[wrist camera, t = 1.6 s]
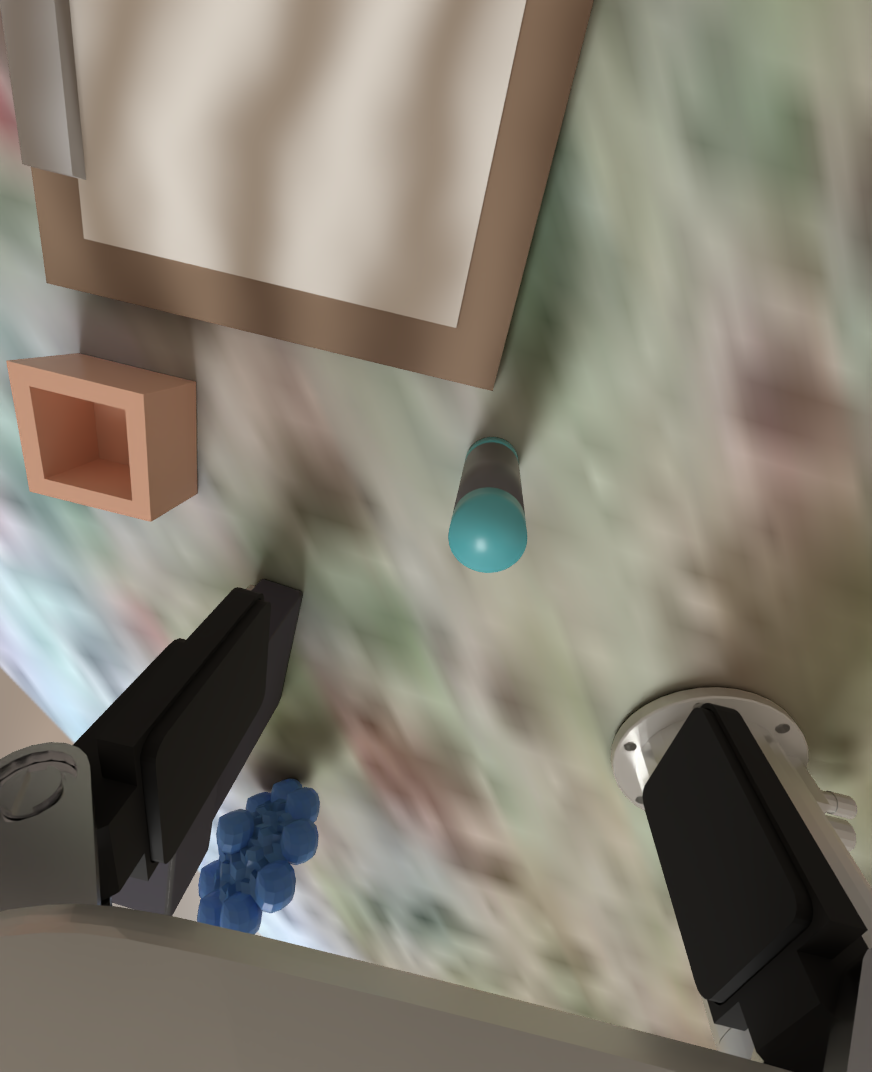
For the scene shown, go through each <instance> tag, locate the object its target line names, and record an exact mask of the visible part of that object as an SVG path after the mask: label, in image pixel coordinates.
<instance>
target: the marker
mask: <svg viewBox="0 0 872 1072" xmlns="http://www.w3.org/2000/svg"><path fill="white" fill-rule="evenodd" d="M448 539H449V545H450V548H451V551H452V553H453V554H454V556H455V557H456V558H457V560H458V561H459V562H460V563H462V564H463V565H464V566H466V567H468V568H470V569H472V570H475V571H478V572H485V573H492V572H498V571H502V570H504V569H507V568H509V567H510V566H512V565H513V564H515V563H516V562H517V561H518V560H519V559H520V557H521V556H522V554H523V553H524V550H525V548H526V544H527V530H526V521H525V513H524V504H523V496H522V487H521V479H520V470H519V462H518V456H517V453H516V451H515V449H514V447H513V446H512V445H511V444H510V443H509V442H507V441H506V440H504V439H501V438H498V437H487V438H483V439H481V440H479V441H477V442H476V443H474V444H473V445H472V446H471V448H470V449H469V451H468V453H467V456H466V459H465V464H464V468H463V472H462V477H461V481H460V485H459V490H458V494H457V498H456V502H455V507H454V511H453V515H452V520H451V524H450V528H449V535H448Z"/></svg>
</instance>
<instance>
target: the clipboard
mask: <svg viewBox="0 0 872 1072" xmlns="http://www.w3.org/2000/svg"><path fill="white" fill-rule="evenodd" d="M593 2H594V0H0V8H1V15H2V23H3V30H4V37H5V44H6V51H7V58H8V65H9V72H10V79H11V87H12V94H13V101H14V108H15V115H16V122H17V129H18V136H19V143H20V151H21V158H22V164H25V165H28V166H31V170H32V177H33V185H34V192H35V200H36V207H37V215H38V222H39V230H40V237H41V244H42V252H43V259H44V267H45V274H46V282H47V283H49V284H53V285H57V286H62V287H66V288H70V289H74V290H78V291H82V292H86V293H90V294H95V295H99V296H103V297H107V298H111V299H115V300H119V301H123V302H128V303H132V304H136V305H140V306H144V307H148V308H152V309H156V310H161V311H165V312H169V313H173V314H177V315H181V316H185V317H190V318H194V319H198V320H202V321H206V322H210V323H214V324H218V325H223V326H227V327H231V328H235V329H239V330H243V331H247V332H251V333H256V334H260V335H264V336H268V337H272V338H276V339H280V340H284V341H289V342H293V343H297V344H301V345H305V346H309V347H313V348H317V349H322V350H326V351H330V352H334V353H338V354H342V355H346V356H350V357H355V358H359V359H363V360H367V361H371V362H375V363H379V364H383V365H388V366H392V367H396V368H400V369H404V370H408V371H412V372H416V373H421V374H425V375H429V376H433V377H437V378H441V379H445V380H449V381H454V382H458V383H462V384H466V385H470V386H474V387H478V388H482V389H487V390H491V391H493V388H494V384H495V380H496V376H497V372H498V368H499V364H500V361H501V357H502V353H503V349H504V345H505V341H506V337H507V334H508V330H509V326H510V322H511V318H512V314H513V310H514V306H515V303H516V299H517V295H518V291H519V287H520V283H521V279H522V276H523V272H524V268H525V264H526V260H527V256H528V252H529V249H530V245H531V241H532V237H533V233H534V229H535V225H536V222H537V218H538V214H539V210H540V206H541V202H542V198H543V195H544V191H545V187H546V183H547V179H548V175H549V171H550V168H551V164H552V160H553V156H554V152H555V148H556V144H557V141H558V137H559V133H560V129H561V125H562V121H563V117H564V113H565V110H566V106H567V102H568V98H569V94H570V90H571V86H572V83H573V79H574V75H575V71H576V67H577V63H578V59H579V56H580V52H581V48H582V44H583V40H584V36H585V32H586V29H587V25H588V21H589V17H590V13H591V9H592V5H593Z"/></svg>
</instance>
